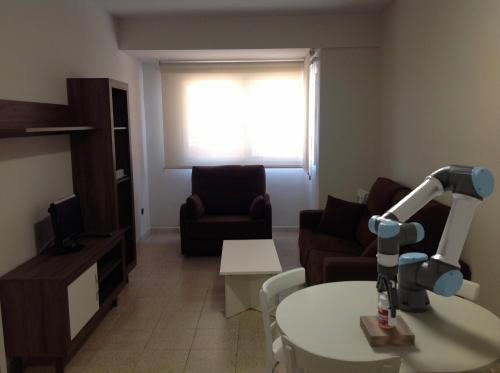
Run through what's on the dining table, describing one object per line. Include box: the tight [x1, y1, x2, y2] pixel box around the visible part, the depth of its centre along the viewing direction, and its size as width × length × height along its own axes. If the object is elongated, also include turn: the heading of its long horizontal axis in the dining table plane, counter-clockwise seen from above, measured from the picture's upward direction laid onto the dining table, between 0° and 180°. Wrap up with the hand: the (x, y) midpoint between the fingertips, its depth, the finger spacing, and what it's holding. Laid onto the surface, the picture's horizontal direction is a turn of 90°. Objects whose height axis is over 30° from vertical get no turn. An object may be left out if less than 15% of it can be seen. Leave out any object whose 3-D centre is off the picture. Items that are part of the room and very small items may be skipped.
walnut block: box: [359, 314, 416, 347], centre depth 168 cm, size 16×16×4 cm
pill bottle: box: [377, 294, 394, 328], centre depth 167 cm, size 6×6×11 cm
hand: (386, 316), depth 167 cm, fingers open, 13 cm apart
